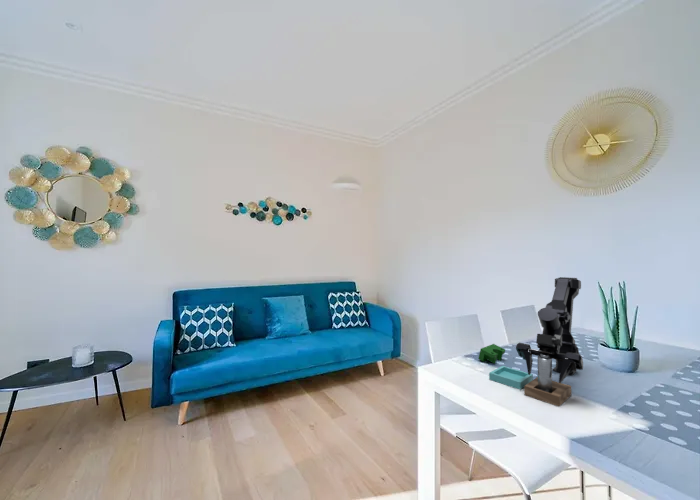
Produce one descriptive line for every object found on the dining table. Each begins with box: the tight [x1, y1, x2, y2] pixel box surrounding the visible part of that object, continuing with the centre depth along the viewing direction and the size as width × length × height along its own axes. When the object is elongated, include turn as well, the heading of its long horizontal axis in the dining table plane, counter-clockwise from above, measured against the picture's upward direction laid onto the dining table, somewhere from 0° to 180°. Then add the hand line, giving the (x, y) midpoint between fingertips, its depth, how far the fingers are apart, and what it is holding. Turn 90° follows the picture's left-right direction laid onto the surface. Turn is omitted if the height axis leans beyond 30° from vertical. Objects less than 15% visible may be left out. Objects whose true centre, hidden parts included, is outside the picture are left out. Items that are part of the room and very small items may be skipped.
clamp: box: [478, 343, 506, 364], centre depth 133 cm, size 12×6×9 cm, turn 120°
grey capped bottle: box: [537, 354, 553, 393], centre depth 99 cm, size 4×4×14 cm
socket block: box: [523, 376, 572, 407], centre depth 101 cm, size 12×10×3 cm
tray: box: [488, 365, 534, 391], centre depth 112 cm, size 11×11×2 cm
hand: (543, 378), depth 98 cm, fingers open, 8 cm apart
